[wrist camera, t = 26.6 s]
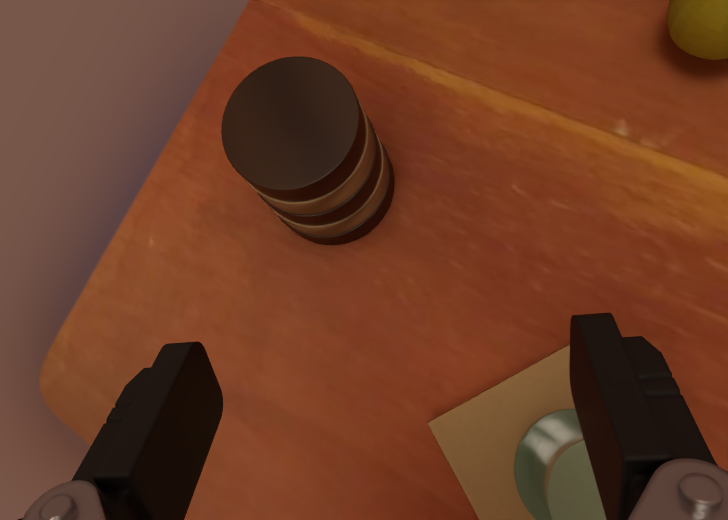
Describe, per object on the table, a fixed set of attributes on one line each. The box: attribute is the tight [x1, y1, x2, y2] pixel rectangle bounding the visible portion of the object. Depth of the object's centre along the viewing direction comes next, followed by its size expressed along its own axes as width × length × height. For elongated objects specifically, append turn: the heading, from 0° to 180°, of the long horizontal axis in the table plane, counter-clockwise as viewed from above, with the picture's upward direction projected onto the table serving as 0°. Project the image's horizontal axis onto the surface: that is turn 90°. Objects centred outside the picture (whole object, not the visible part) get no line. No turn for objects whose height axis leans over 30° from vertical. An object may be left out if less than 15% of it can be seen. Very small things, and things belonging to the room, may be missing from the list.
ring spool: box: [513, 408, 607, 520], centre depth 29 cm, size 7×7×8 cm
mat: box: [428, 344, 575, 520], centre depth 33 cm, size 12×12×1 cm
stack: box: [222, 57, 394, 245], centre depth 35 cm, size 8×8×10 cm
